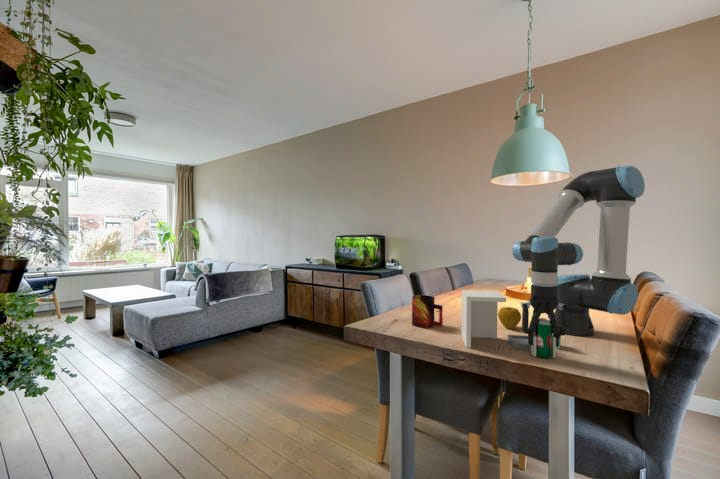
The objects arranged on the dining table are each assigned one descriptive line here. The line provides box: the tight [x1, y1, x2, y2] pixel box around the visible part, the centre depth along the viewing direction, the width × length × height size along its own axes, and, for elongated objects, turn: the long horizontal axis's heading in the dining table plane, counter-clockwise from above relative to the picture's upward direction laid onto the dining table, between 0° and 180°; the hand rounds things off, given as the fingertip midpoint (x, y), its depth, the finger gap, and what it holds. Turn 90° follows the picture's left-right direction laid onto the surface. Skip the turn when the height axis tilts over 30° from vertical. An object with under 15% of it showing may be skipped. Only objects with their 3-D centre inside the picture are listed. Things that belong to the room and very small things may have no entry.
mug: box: [411, 294, 444, 329], centre depth 143 cm, size 10×14×12 cm
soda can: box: [534, 317, 553, 359], centre depth 107 cm, size 5×5×12 cm
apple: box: [497, 306, 522, 330], centre depth 139 cm, size 9×9×9 cm
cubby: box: [461, 289, 507, 349], centre depth 120 cm, size 13×13×18 cm
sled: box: [507, 333, 562, 351], centre depth 117 cm, size 15×10×6 cm
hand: (543, 355), depth 107 cm, fingers closed on soda can, 5 cm apart
